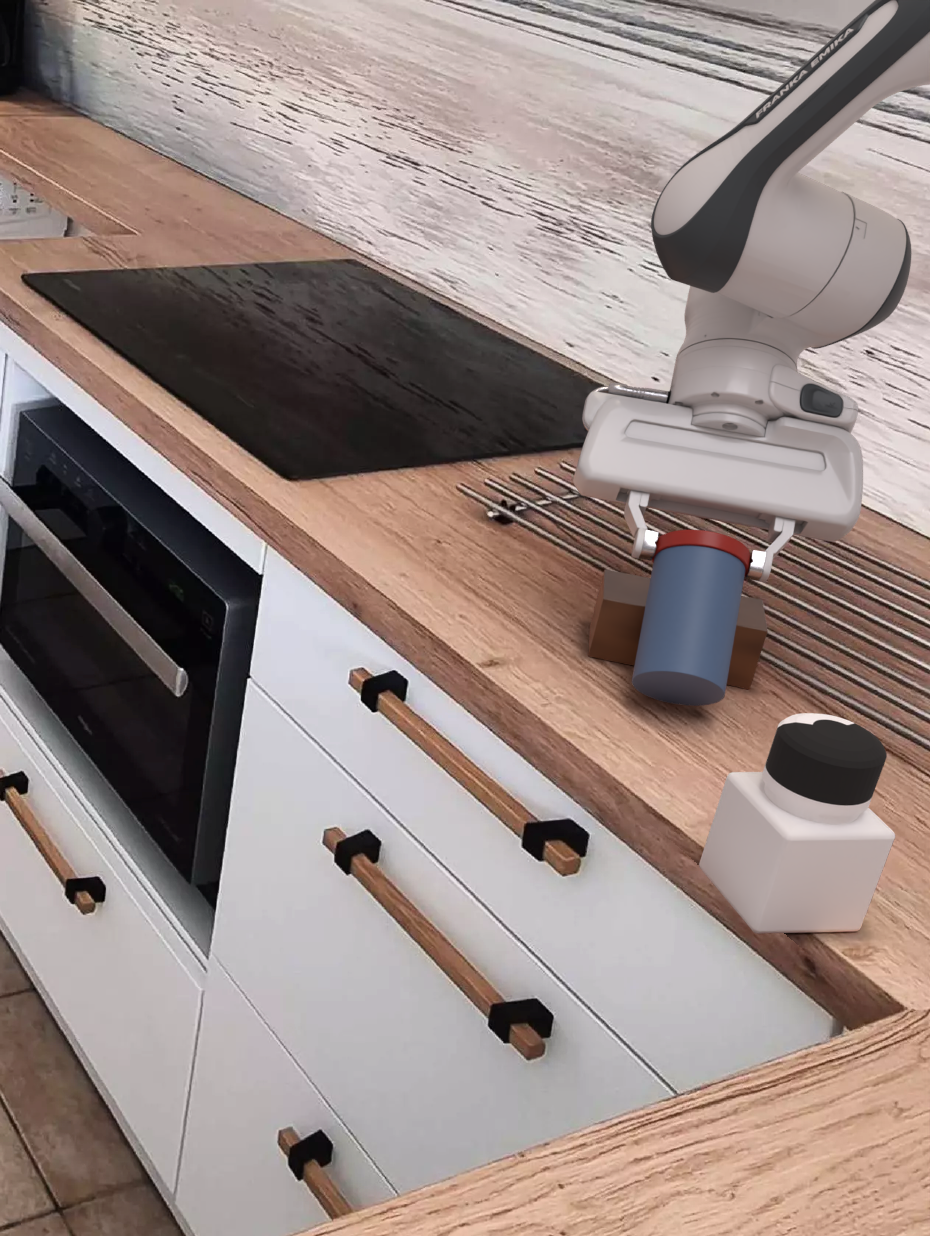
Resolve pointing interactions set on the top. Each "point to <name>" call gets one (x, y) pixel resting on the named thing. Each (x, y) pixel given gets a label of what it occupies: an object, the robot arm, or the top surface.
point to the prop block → (623, 619)
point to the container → (690, 617)
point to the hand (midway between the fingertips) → (699, 567)
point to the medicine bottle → (802, 830)
